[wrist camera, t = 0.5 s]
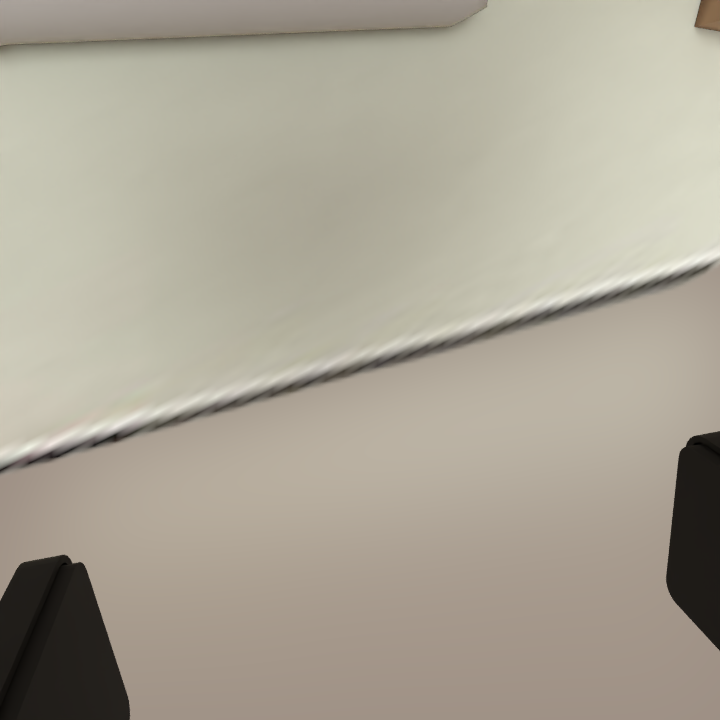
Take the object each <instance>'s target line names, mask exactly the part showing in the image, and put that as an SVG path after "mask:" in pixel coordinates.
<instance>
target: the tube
mask: <svg viewBox="0 0 720 720" xmlns="http://www.w3.org/2000/svg"><path fill="white" fill-rule="evenodd" d="M487 2H488V0H0V46H2V45H9V44H34V43H58V42H82V41H107V40H131V39H156V38H180V37H205V36H229V35H254V34H278V33H303V32H327V31H352V30H376V29H401V28H425V27H449V26H453V25H455V24H457V23H459V22H461V21H463V20H465V19H466V18H468V17H470V16H472V15H473V14H475V13H477V12H479V11H481V10H482V9H484V8H486V7H487Z"/></svg>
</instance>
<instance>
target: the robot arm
mask: <svg viewBox="0 0 720 720" xmlns="http://www.w3.org/2000/svg"><path fill="white" fill-rule="evenodd" d="M666 582H667V587H668V590H669V593H670V595H671V597H672V598H673V600H674V601H675V602H676V604H677V605H678V606H679V607H680V608H681V609H682V610H683V611H684V612H685V613H686V615H687V616H688V617H689V618H690V619H691V620H692V621H693V622H694V623H695V624H696V625H697V627H698V628H699V629H700V630H701V631H702V632H703V633H704V634H705V635H706V636H707V637H708V638H709V639H710V641H711V642H712V643H713V644H714V645H715V646H716V647H717V648H718V649H719V650H720V431H718V432H713V433H708V434H703V435H697V436H694V437H692V438H690V439H689V441H688V442H687V445H686V447H684V448H683V449H682V450H681V451H680V454H679V461H678V469H677V479H676V489H675V498H674V508H673V517H672V527H671V537H670V546H669V556H668V566H667V575H666ZM129 719H130V708H129V700H128V696H127V693H126V690H125V687H124V684H123V680H122V677H121V675H120V671H119V668H118V665H117V662H116V659H115V656H114V653H113V650H112V647H111V644H110V641H109V637H108V634H107V631H106V628H105V625H104V623H103V619H102V616H101V613H100V610H99V607H98V604H97V601H96V598H95V594H94V591H93V588H92V585H91V582H90V579H89V576H88V573H87V570H86V568H85V566H84V564H83V563H81V562H79V563H73V564H72V562H71V560H70V558H69V557H68V556H66V555H60V556H55V557H50V558H44V559H39V560H33V561H28V562H24V563H22V564H20V565H19V567H18V568H17V570H16V572H15V574H14V576H13V578H12V579H11V581H10V583H9V585H8V587H7V589H6V591H5V593H4V595H3V597H2V599H1V601H0V720H129Z"/></svg>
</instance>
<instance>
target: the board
mask: <svg viewBox="0 0 720 720" xmlns="http://www.w3.org/2000/svg"><path fill="white" fill-rule="evenodd" d="M695 27H699V28H705V29H710V30H716V31H720V0H701V4H700V8H699V12H698V16H697V20H696V23H695Z"/></svg>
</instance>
